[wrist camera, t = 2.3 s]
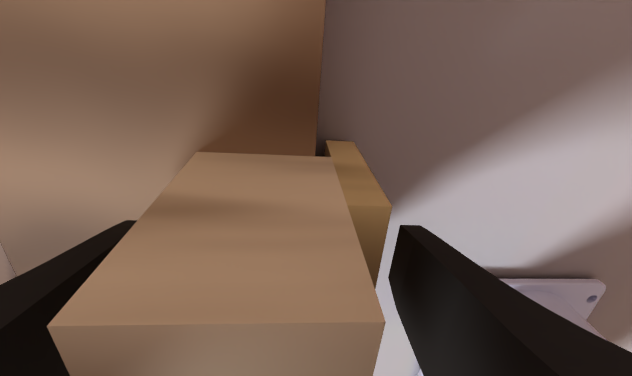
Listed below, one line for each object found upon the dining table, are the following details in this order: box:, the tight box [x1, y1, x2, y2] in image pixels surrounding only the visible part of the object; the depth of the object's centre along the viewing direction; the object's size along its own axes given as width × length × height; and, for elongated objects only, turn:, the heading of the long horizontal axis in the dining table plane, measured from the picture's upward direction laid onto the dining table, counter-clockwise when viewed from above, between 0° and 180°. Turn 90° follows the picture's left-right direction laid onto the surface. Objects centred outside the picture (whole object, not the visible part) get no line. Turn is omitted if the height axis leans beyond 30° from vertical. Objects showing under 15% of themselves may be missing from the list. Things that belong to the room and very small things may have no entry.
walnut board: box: [0, 0, 326, 276], centre depth 9 cm, size 22×10×2 cm, turn 176°
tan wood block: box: [47, 140, 392, 376], centre depth 8 cm, size 5×5×8 cm
